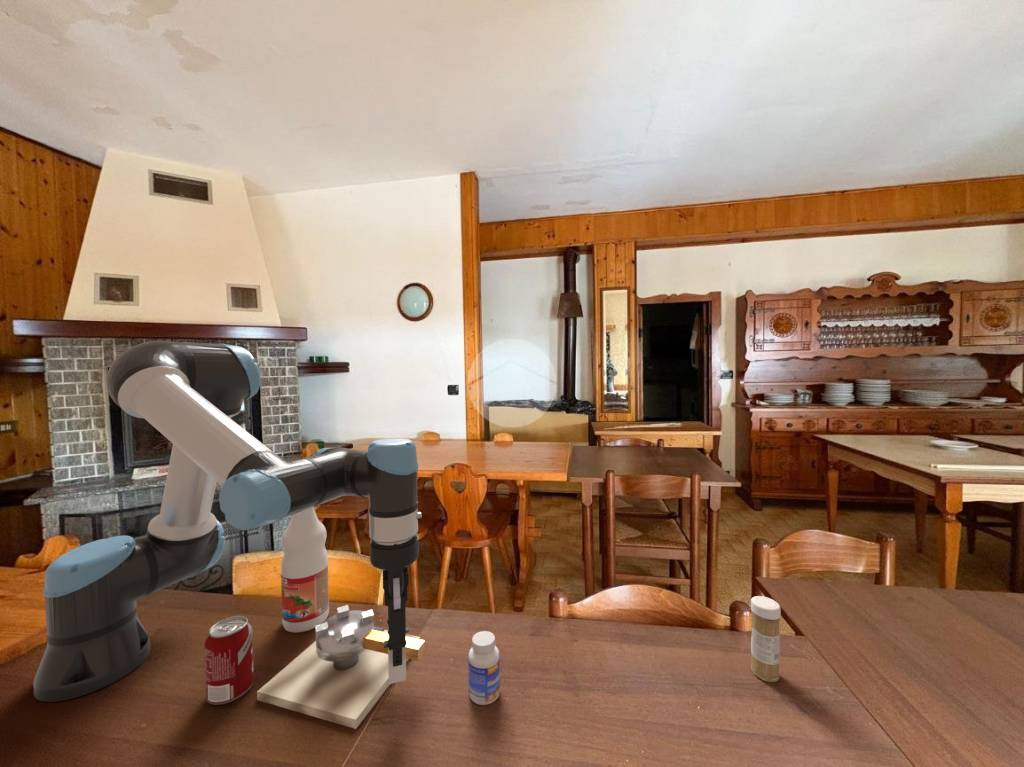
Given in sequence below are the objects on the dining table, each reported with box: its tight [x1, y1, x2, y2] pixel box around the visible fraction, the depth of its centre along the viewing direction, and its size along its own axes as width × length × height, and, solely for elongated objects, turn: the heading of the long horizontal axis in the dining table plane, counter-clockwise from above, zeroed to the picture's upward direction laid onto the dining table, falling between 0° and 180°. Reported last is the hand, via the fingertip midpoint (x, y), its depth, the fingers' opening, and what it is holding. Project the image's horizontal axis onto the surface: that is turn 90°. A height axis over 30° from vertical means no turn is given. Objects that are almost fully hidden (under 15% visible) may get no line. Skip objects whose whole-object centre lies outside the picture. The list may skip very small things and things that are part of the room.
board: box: [256, 625, 421, 730], centre depth 74 cm, size 20×20×5 cm
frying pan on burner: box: [314, 604, 426, 662], centre depth 72 cm, size 21×10×4 cm, turn 74°
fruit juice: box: [280, 506, 330, 633], centre depth 89 cm, size 9×9×28 cm
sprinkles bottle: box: [750, 595, 782, 683], centre depth 72 cm, size 5×5×13 cm
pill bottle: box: [467, 630, 501, 706], centre depth 68 cm, size 5×5×10 cm
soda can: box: [204, 615, 255, 706], centre depth 69 cm, size 7×7×12 cm
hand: (397, 678), depth 64 cm, fingers closed
